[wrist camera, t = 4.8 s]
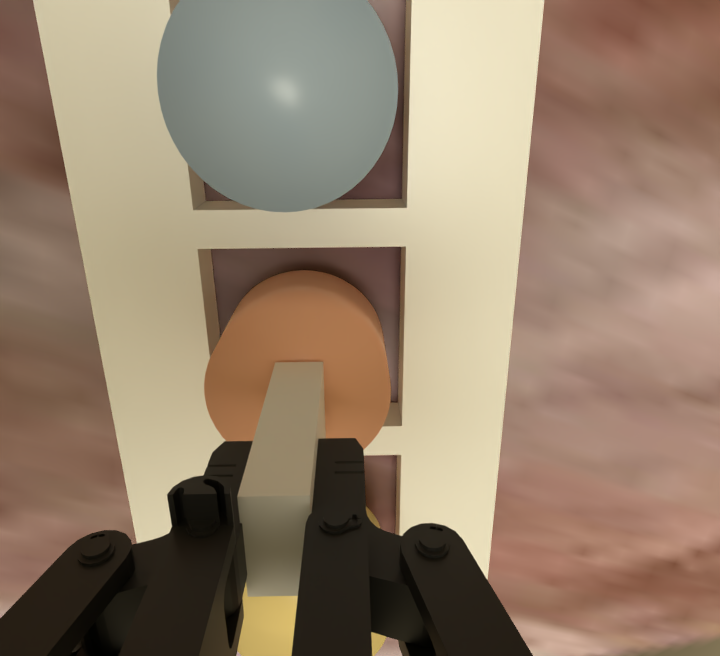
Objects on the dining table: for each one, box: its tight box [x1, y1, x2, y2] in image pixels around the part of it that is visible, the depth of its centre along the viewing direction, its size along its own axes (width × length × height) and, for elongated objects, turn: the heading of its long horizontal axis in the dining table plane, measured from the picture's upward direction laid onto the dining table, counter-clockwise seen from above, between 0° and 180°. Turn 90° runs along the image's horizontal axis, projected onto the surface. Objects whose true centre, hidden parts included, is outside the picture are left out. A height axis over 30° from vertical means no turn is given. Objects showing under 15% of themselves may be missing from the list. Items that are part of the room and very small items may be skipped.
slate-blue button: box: [157, 0, 398, 212], centre depth 16 cm, size 6×6×4 cm
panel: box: [33, 0, 544, 579], centre depth 23 cm, size 16×28×2 cm, turn 0°
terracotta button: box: [204, 270, 391, 450], centre depth 20 cm, size 6×6×4 cm
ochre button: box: [237, 507, 386, 656], centre depth 23 cm, size 6×6×4 cm
